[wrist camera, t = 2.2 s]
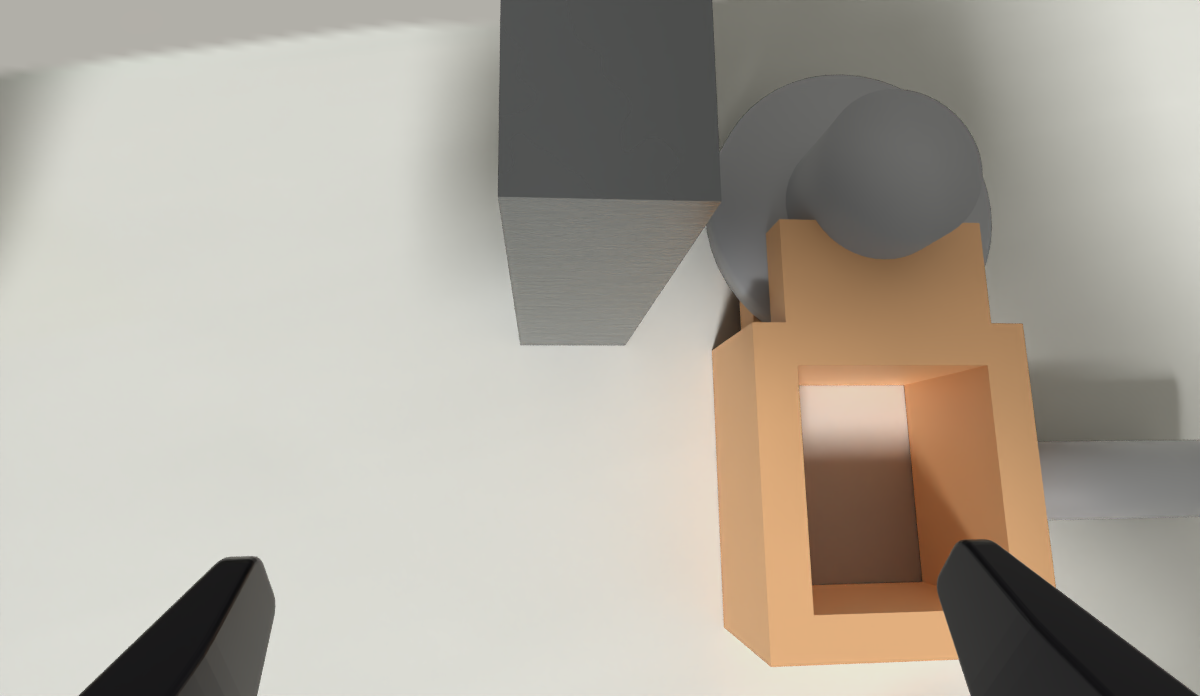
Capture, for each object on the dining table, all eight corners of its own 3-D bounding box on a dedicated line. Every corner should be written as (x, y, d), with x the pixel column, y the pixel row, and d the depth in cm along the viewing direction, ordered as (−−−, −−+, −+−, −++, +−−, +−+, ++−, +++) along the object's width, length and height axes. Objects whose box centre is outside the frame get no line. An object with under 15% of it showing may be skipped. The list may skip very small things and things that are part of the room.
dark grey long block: (624, 345, 23) (721, 201, 11) (520, 344, 23) (498, 196, 11) (622, 217, 24) (710, -50, 12) (521, 216, 24) (501, -61, 11)
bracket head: (1186, 611, 23) (1407, 658, 17) (707, 628, 22) (769, 686, 16) (1111, 130, 26) (1276, 32, 20) (686, 117, 25) (733, 6, 19)
